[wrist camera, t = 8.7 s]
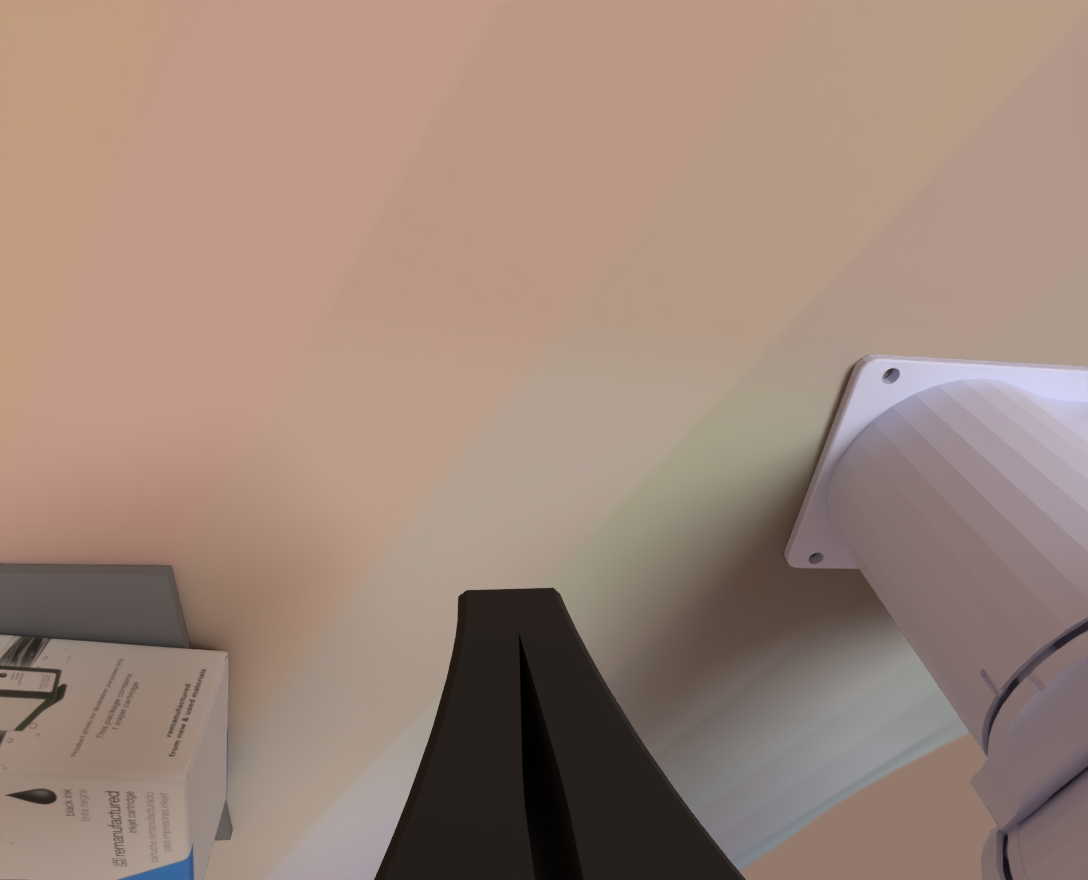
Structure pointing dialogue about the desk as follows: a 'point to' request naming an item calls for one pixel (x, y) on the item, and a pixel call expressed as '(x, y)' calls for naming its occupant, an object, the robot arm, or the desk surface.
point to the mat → (96, 610)
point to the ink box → (110, 759)
